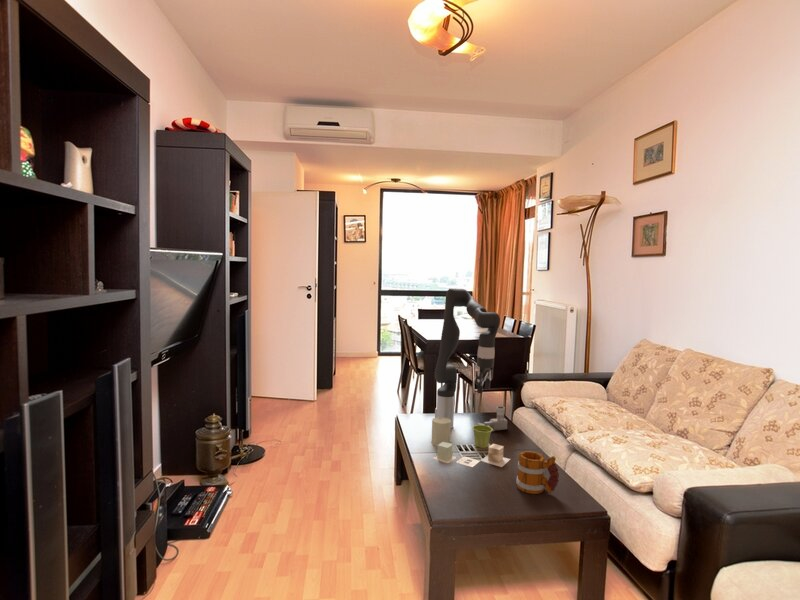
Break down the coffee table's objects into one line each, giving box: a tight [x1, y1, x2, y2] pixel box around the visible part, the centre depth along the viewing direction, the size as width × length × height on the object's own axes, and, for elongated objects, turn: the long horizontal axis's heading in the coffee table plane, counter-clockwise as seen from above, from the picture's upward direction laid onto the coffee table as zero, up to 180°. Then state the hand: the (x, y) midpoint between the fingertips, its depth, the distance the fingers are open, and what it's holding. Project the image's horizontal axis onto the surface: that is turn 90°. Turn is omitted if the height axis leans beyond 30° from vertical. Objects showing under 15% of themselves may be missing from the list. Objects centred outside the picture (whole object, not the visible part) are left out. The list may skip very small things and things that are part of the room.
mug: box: [515, 450, 560, 495], centre depth 172 cm, size 11×16×15 cm, turn 51°
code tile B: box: [432, 455, 457, 464], centre depth 198 cm, size 8×8×1 cm
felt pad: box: [480, 454, 511, 468], centre depth 198 cm, size 10×10×1 cm
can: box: [430, 417, 451, 447], centre depth 215 cm, size 9×9×12 cm
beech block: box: [487, 443, 505, 463], centre depth 197 cm, size 5×5×6 cm
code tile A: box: [455, 456, 481, 468], centre depth 195 cm, size 8×8×1 cm
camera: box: [476, 405, 508, 432], centre depth 237 cm, size 9×12×15 cm
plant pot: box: [472, 424, 493, 449], centre depth 214 cm, size 9×9×9 cm
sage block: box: [436, 442, 454, 461], centre depth 198 cm, size 5×5×6 cm
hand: (483, 391), depth 203 cm, fingers open, 8 cm apart
